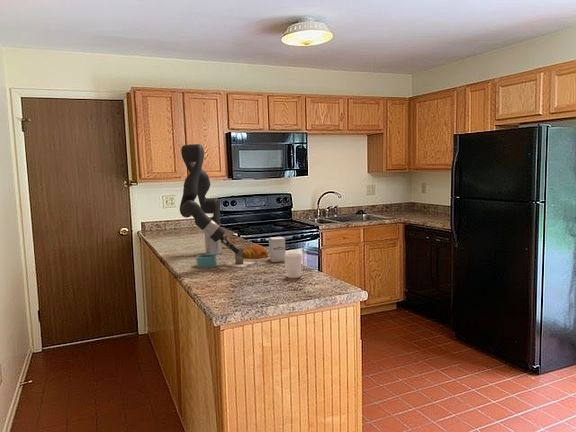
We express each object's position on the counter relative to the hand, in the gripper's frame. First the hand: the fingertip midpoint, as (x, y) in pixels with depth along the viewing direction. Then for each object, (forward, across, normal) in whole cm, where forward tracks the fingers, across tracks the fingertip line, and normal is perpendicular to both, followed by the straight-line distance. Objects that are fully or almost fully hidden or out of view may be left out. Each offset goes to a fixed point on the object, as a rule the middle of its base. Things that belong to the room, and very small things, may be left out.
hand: (236, 251), depth 229 cm
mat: (+6, 0, +5) cm, 8 cm away
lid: (+6, 0, +4) cm, 7 cm away
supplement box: (+21, +4, -10) cm, 24 cm away
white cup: (+20, -32, -9) cm, 39 cm away
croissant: (+15, +21, -4) cm, 26 cm away
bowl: (-5, +5, +16) cm, 18 cm away
